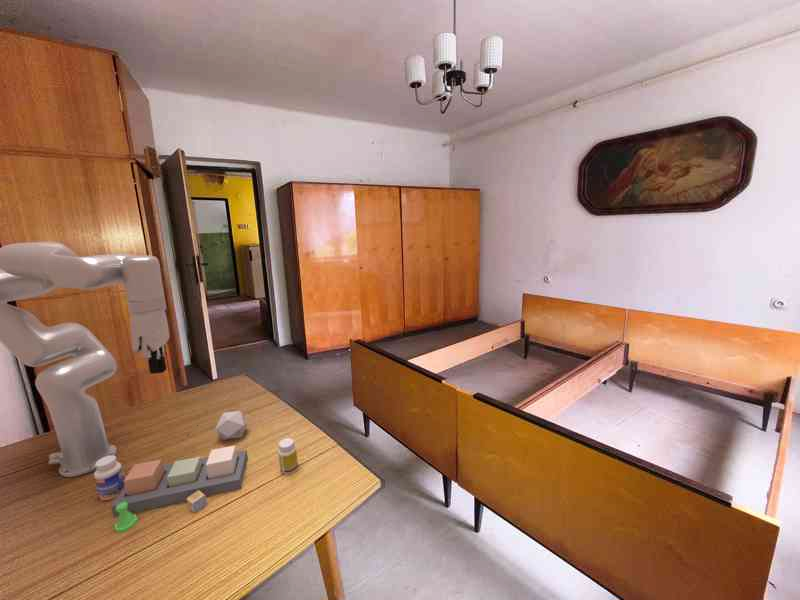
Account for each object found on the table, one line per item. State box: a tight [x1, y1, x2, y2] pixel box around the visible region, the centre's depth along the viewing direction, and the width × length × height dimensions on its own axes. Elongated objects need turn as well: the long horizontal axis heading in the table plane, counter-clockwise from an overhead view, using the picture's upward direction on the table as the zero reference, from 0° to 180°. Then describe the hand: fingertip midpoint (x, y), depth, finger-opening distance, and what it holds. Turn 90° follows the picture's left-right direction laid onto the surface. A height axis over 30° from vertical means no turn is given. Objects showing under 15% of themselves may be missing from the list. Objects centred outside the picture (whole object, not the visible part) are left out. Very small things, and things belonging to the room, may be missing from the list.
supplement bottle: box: [278, 437, 299, 475], centre depth 92 cm, size 5×5×8 cm
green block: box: [167, 456, 202, 487], centre depth 87 cm, size 6×6×5 cm
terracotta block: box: [124, 459, 165, 496], centre depth 84 cm, size 6×6×5 cm
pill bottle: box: [93, 455, 126, 501], centre depth 85 cm, size 5×5×10 cm
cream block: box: [206, 445, 238, 479], centre depth 89 cm, size 6×6×5 cm
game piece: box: [114, 502, 139, 533], centre depth 76 cm, size 4×4×6 cm
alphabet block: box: [186, 490, 208, 514], centre depth 81 cm, size 3×3×3 cm
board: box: [110, 449, 249, 518], centre depth 88 cm, size 28×12×3 cm, turn 106°
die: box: [214, 410, 249, 441], centre depth 107 cm, size 8×9×10 cm
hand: (158, 371), depth 87 cm, fingers closed
